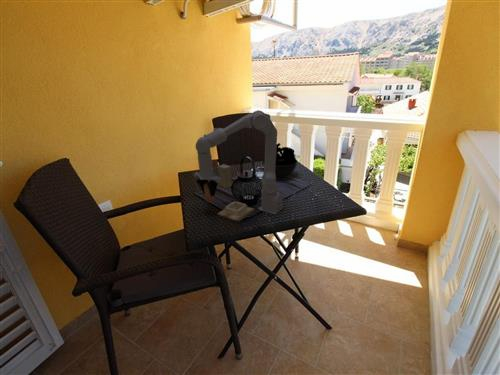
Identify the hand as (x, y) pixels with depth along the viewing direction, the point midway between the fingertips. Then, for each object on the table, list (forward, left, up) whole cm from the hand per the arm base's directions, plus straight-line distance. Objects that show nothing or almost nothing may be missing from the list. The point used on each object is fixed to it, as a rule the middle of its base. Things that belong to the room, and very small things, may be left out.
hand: (209, 194), depth 118 cm
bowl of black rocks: (-5, -55, -9) cm, 56 cm away
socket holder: (-10, -6, -9) cm, 15 cm away
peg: (0, 0, -3) cm, 3 cm away
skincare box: (+14, -27, -10) cm, 32 cm away
